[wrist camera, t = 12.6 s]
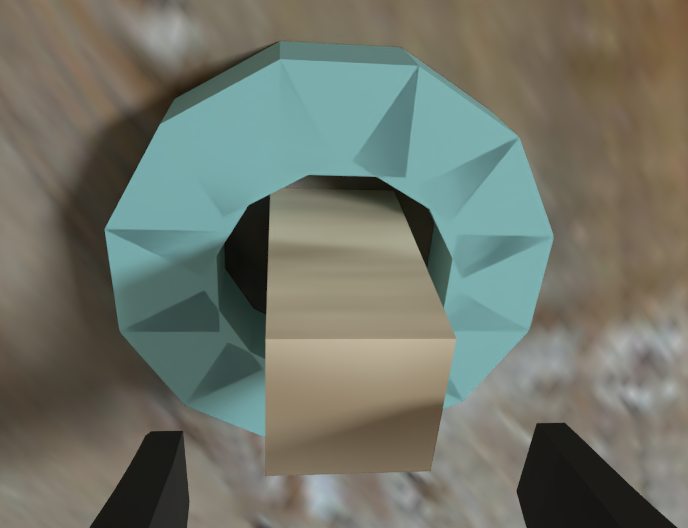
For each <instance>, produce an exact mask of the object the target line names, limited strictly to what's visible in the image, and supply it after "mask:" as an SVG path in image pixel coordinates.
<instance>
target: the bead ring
mask: <svg viewBox="0 0 688 528" xmlns="http://www.w3.org/2000/svg"><path fill="white" fill-rule="evenodd" d="M307 175H333V176H371V177H378V178H379V179H381V180H383V181H384V182H386V183H388V184H389V185H391V186H393V187H394V188H396V189H398V190H399V191H401V192H402V193H404V194H406V195H407V196H409V197H411V198H412V199H414V200H416V201H417V202H419V203H421V204H422V205H424V206H425V207H427V208H428V210H429V212H430V215H431V217H432V219H433V221H434V227H433V234H432V240H431V247H430V253H429V260H428V266H427V270H428V273H429V275H430V277H431V280H432V282H433V284H434V287H435V289H436V291H437V294H438V296H439V299H440V301H441V303H442V306H443V308H444V310H445V313H446V315H447V318H448V320H449V322H450V325H451V327H452V329H453V332H454V334H455V336H456V344H455V349H454V354H453V359H452V364H451V369H450V374H449V379H448V385H447V390H446V395H445V400H444V405H443V409H445V408H447V407H450V406H452V405H454V404H457V403H459V402H461V401H463V400H464V399H465V398H466V397H467V396H468V395H469V394H470V393H471V392H472V391H473V389H474V388H475V387H476V386H477V385H478V384H479V383H480V382H481V381H482V380H483V379H484V378H485V377H486V376H487V375H488V374H489V373H490V371H491V370H492V369H493V368H494V367H495V366H496V365H497V364H498V363H499V362H500V361H501V360H502V359H503V358H504V357H505V356H506V355H507V353H508V352H509V351H510V350H511V349H512V348H513V347H514V346H515V345H516V344H517V343H518V342H519V341H520V340H521V339H522V338H523V337H524V335H525V334H526V333H527V332H528V331H529V328H530V325H531V321H532V317H533V313H534V310H535V306H536V302H537V298H538V295H539V291H540V287H541V283H542V280H543V276H544V272H545V268H546V265H547V261H548V257H549V253H550V250H551V246H552V242H553V238H554V235H553V232H552V230H551V227H550V224H549V221H548V218H547V215H546V212H545V210H544V207H543V204H542V201H541V198H540V195H539V192H538V190H537V187H536V184H535V181H534V178H533V175H532V172H531V169H530V167H529V164H528V161H527V158H526V155H525V152H524V149H523V147H522V144H521V141H520V138H519V136H518V135H517V134H516V133H514V132H513V131H512V130H511V129H510V128H509V127H508V126H507V125H506V124H505V123H503V122H502V121H501V120H500V119H499V118H498V117H497V116H496V115H495V114H494V113H492V112H491V111H490V110H488V109H487V108H486V107H484V106H483V105H481V104H480V103H479V102H477V101H476V100H474V99H473V98H472V97H470V96H469V95H467V94H466V93H465V92H463V91H462V90H460V89H459V88H458V87H456V86H455V85H453V84H452V83H450V82H449V81H448V80H446V79H445V78H443V77H442V76H441V75H439V74H438V73H436V72H435V71H434V70H432V69H431V68H429V67H428V66H427V65H425V64H424V63H422V62H421V61H420V60H418V59H417V58H415V57H414V56H413V55H411V54H410V53H408V52H407V51H406V50H404V49H403V48H401V47H382V46H363V45H343V44H324V43H305V42H285V41H279V42H278V43H276V44H274V45H272V46H270V47H269V48H267V49H265V50H263V51H261V52H259V53H258V54H256V55H254V56H252V57H250V58H248V59H247V60H245V61H243V62H241V63H239V64H237V65H236V66H234V67H232V68H230V69H228V70H226V71H225V72H223V73H221V74H219V75H217V76H216V77H214V78H212V79H210V80H208V81H206V82H205V83H203V84H201V85H199V86H197V87H195V88H194V89H192V90H190V91H188V92H186V93H184V94H183V95H181V96H179V97H177V98H175V99H174V101H173V102H172V104H171V106H170V108H169V109H168V111H167V113H166V115H165V116H164V118H163V120H162V121H161V123H160V125H159V127H158V129H157V131H156V133H155V135H154V137H153V139H152V140H151V142H150V144H149V146H148V148H147V150H146V152H145V154H144V156H143V157H142V159H141V161H140V163H139V165H138V167H137V169H136V171H135V173H134V175H133V176H132V178H131V180H130V182H129V184H128V186H127V188H126V190H125V192H124V193H123V195H122V197H121V199H120V201H119V203H118V205H117V207H116V209H115V211H114V212H113V214H112V216H111V218H110V220H109V222H108V224H107V226H106V227H105V229H104V230H105V236H106V243H107V249H108V256H109V263H110V270H111V277H112V284H113V290H114V297H115V304H116V311H117V318H118V325H119V332H120V333H121V334H122V335H123V336H124V337H125V339H126V340H127V341H128V342H129V343H130V344H131V345H132V346H133V348H134V349H135V350H136V351H137V352H138V353H139V354H140V356H141V357H142V358H143V359H144V360H145V361H146V362H147V363H148V365H149V366H150V367H151V368H152V369H153V370H154V371H155V372H156V374H157V375H158V376H159V377H160V378H161V379H162V380H163V382H164V383H165V384H166V385H167V386H168V387H169V388H170V389H171V391H172V392H173V393H174V394H175V395H176V396H177V397H178V398H179V400H180V401H181V402H182V403H183V404H184V405H185V406H187V407H190V408H192V409H195V410H198V411H200V412H203V413H205V414H208V415H210V416H213V417H215V418H218V419H220V420H223V421H225V422H228V423H231V424H233V425H236V426H238V427H241V428H243V429H246V430H248V431H251V432H253V433H256V434H258V435H261V436H264V437H265V350H266V314H264V313H262V312H260V311H258V310H256V309H254V308H253V307H252V306H251V304H250V303H249V301H248V300H247V299H246V297H245V296H244V294H243V293H242V292H241V290H240V289H239V287H238V286H237V285H236V283H235V282H234V280H233V279H232V278H231V276H230V275H229V273H228V272H227V271H226V269H225V251H224V243H225V242H226V240H227V238H228V237H229V235H230V234H231V232H232V230H233V229H234V227H235V226H236V224H237V222H238V221H239V219H240V218H241V216H242V215H243V213H244V211H245V210H246V208H247V207H248V205H250V204H252V203H254V202H256V201H258V200H260V199H262V198H264V197H266V196H268V195H269V194H271V193H273V192H275V191H277V190H279V189H281V188H283V187H285V186H287V185H289V184H291V183H293V182H295V181H297V180H299V179H301V178H303V177H305V176H307Z"/></svg>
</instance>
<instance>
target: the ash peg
mask: <svg viewBox="0 0 688 528" xmlns="http://www.w3.org/2000/svg"><path fill="white" fill-rule="evenodd" d="M455 344H456V336H455V334H454V332H453V329H452V327H451V325H450V322H449V320H448V318H447V315H446V313H445V310H444V308H443V306H442V303H441V301H440V299H439V296H438V294H437V291H436V289H435V287H434V284H433V282H432V280H431V277H430V275H429V273H428V270H427V268H426V265H425V263H424V261H423V258H422V256H421V254H420V251H419V249H418V247H417V244H416V242H415V239H414V237H413V235H412V232H411V230H410V228H409V225H408V223H407V220H406V218H405V216H404V213H403V211H402V209H401V206H400V204H399V202H398V199H397V197H396V194H395V192H394V191H379V190H340V189H302V188H281V189H279V190H277V191H275V192H273V193H271V194H270V217H269V248H268V279H267V309H266V350H265V476H278V475H314V474H349V473H384V472H420V471H431V466H432V461H433V456H434V451H435V446H436V441H437V436H438V431H439V425H440V420H441V415H442V410H443V405H444V400H445V395H446V390H447V385H448V379H449V374H450V369H451V364H452V359H453V354H454V349H455Z"/></svg>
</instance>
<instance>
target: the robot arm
mask: <svg viewBox="0 0 688 528" xmlns="http://www.w3.org/2000/svg"><path fill="white" fill-rule="evenodd" d="M517 495H518V498H519V502H520V506H521V509H522V513H523V517H524V520H525V524H526V527H527V528H677V527H676V526H675V525H674V524H672V523H671V522H670V521H669V520H668V519H667V518H666V517H665V516H663V515H662V514H661V513H660V512H659V511H658V510H657V509H655V508H654V507H653V506H652V505H651V504H650V503H649V502H648V501H647V500H646V499H644V498H643V497H642V496H641V495H640V494H639V493H638V492H637V491H636V490H635V489H634V488H633V487H632V486H630V485H629V484H628V483H627V482H626V481H625V480H624V479H623V478H622V477H621V476H620V475H619V474H618V473H617V472H616V471H615V470H614V469H613V468H612V467H610V466H609V465H608V464H607V463H606V462H605V461H604V460H603V459H602V458H601V457H600V456H599V455H598V454H597V453H596V452H595V451H594V450H593V449H592V448H591V447H590V446H589V445H588V444H587V443H586V442H585V441H584V440H582V439H581V438H580V437H579V436H578V435H577V434H576V433H575V432H574V431H573V430H572V429H571V428H570V427H569V426H568V425H567V424H565V423H537V424H536V428H535V431H534V434H533V438H532V441H531V444H530V448H529V451H528V454H527V458H526V461H525V464H524V468H523V471H522V474H521V478H520V481H519V484H518V488H517ZM188 511H189V492H188V481H187V470H186V459H185V448H184V437H183V431H151V432H150V433H148V434H147V435H146V436H145V438H144V440H143V442H142V444H141V446H140V447H139V449H138V451H137V453H136V455H135V456H134V458H133V460H132V462H131V464H130V465H129V467H128V469H127V470H126V472H125V474H124V475H123V477H122V479H121V480H120V482H119V483H118V485H117V487H116V488H115V490H114V491H113V493H112V495H111V496H110V498H109V499H108V501H107V502H106V504H105V505H104V507H103V508H102V510H101V511H100V513H99V514H98V516H97V517H96V519H95V520H94V522H93V523H92V525H91V526H90V528H187V520H188Z"/></svg>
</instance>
